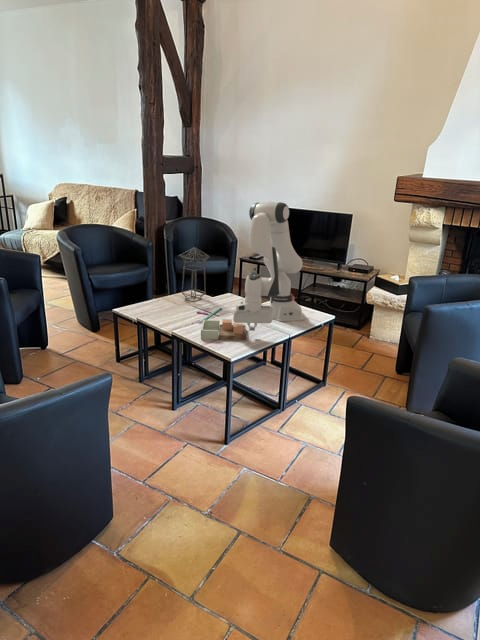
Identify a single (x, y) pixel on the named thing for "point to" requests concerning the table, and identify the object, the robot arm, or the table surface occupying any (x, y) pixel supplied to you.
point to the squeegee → (207, 314)
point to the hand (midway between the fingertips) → (252, 330)
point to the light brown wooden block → (227, 324)
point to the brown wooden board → (231, 334)
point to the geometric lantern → (193, 270)
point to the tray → (210, 329)
